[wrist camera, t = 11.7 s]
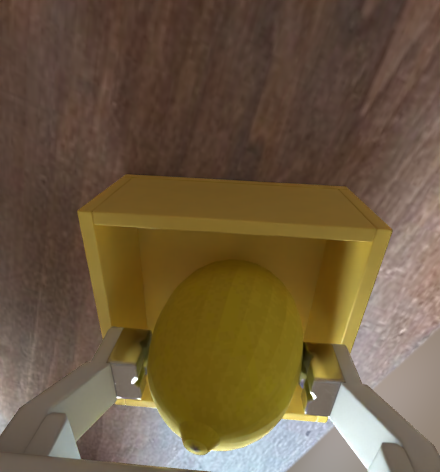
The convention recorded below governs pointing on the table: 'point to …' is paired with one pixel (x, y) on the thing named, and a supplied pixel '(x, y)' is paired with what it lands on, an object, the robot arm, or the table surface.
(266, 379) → the lemon
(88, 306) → the table surface
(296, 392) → the yellow bin
